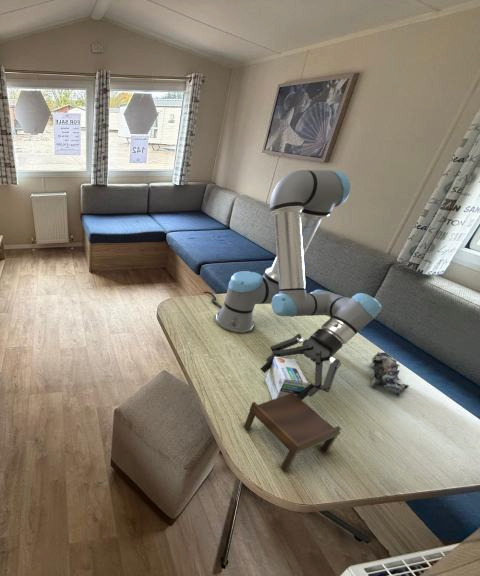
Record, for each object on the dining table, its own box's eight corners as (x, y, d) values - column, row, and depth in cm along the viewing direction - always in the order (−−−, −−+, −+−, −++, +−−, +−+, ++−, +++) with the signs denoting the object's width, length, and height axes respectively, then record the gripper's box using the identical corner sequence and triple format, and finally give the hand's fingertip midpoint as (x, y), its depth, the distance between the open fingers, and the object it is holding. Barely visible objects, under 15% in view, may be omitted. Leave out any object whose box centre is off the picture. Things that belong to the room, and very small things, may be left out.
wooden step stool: (242, 426, 89) (252, 402, 84) (283, 411, 94) (294, 387, 89) (284, 472, 77) (298, 447, 73) (328, 452, 82) (343, 427, 78)
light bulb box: (297, 409, 94) (309, 383, 89) (273, 405, 95) (284, 379, 90) (285, 383, 103) (296, 358, 98) (264, 379, 104) (273, 355, 99)
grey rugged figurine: (353, 371, 106) (381, 341, 107) (353, 385, 112) (379, 357, 114) (395, 393, 96) (425, 361, 98) (392, 408, 103) (420, 377, 105)
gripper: (293, 309, 101) (245, 355, 104) (373, 357, 82) (311, 412, 84) (299, 320, 106) (252, 363, 108) (376, 367, 86) (318, 419, 88)
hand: (278, 385), depth 96 cm, fingers closed on light bulb box, 12 cm apart
